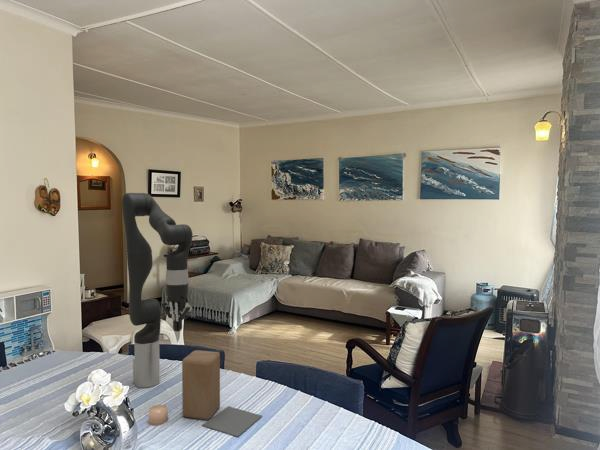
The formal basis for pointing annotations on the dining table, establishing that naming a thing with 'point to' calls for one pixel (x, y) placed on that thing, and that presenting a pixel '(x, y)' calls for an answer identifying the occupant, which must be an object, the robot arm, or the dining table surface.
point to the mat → (232, 421)
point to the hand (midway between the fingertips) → (177, 330)
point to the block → (201, 384)
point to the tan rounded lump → (158, 414)
